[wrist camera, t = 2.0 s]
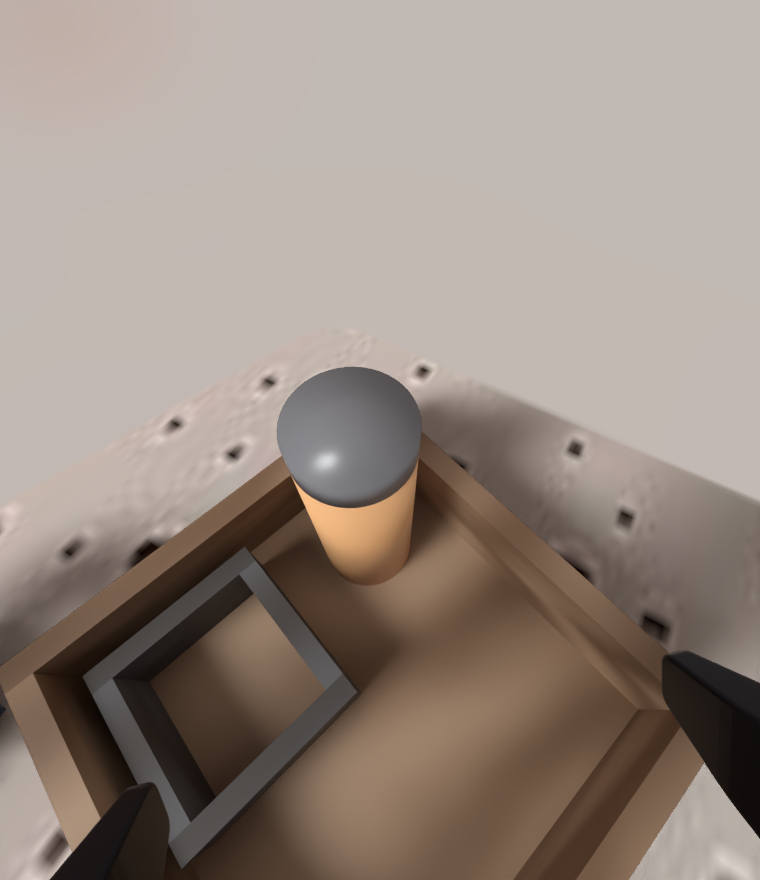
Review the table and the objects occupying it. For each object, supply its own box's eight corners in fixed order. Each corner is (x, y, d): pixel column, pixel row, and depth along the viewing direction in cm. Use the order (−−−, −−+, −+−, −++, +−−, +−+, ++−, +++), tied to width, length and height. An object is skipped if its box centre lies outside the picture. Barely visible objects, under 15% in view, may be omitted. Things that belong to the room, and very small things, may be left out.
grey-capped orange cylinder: (427, 545, 22) (452, 427, 13) (364, 604, 21) (339, 522, 11) (371, 489, 24) (356, 345, 14) (310, 540, 23) (248, 421, 13)
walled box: (666, 710, 19) (736, 713, 15) (328, 1189, 14) (301, 1385, 10) (375, 435, 26) (372, 387, 22) (70, 677, 20) (-6, 670, 17)
